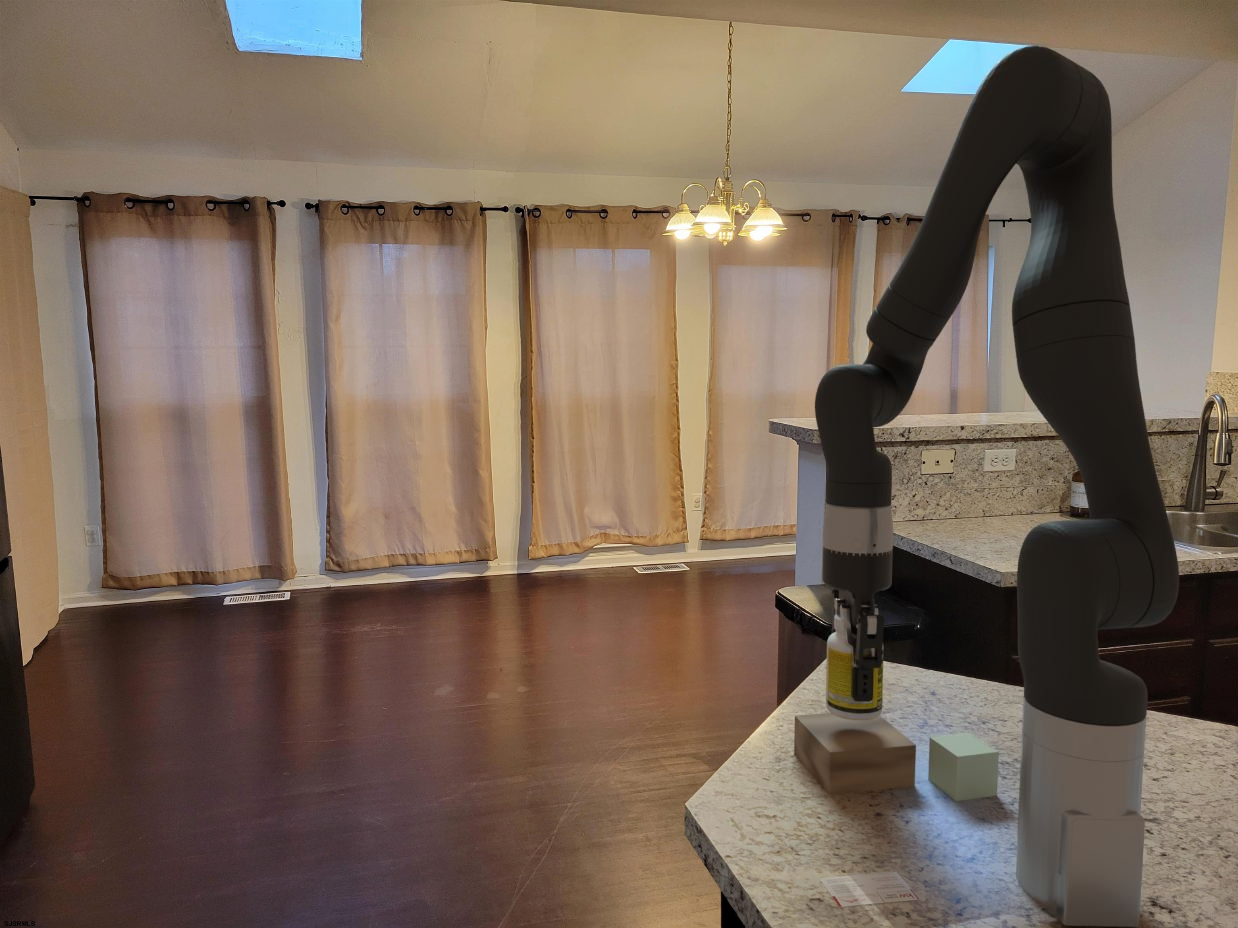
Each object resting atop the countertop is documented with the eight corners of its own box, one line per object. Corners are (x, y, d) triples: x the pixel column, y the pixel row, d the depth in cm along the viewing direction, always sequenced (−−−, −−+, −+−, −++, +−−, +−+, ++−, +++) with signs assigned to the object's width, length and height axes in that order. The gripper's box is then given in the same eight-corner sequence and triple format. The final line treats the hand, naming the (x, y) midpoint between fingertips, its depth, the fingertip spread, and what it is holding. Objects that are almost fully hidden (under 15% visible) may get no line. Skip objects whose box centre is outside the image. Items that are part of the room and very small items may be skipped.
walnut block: (914, 788, 91) (916, 744, 91) (829, 796, 89) (830, 752, 89) (871, 749, 101) (872, 709, 100) (794, 755, 99) (794, 715, 99)
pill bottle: (889, 722, 91) (891, 624, 90) (833, 722, 91) (834, 624, 90) (873, 701, 97) (875, 609, 96) (820, 700, 97) (822, 609, 96)
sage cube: (997, 796, 89) (998, 751, 88) (956, 801, 88) (957, 756, 87) (967, 774, 94) (969, 732, 93) (928, 779, 93) (929, 736, 92)
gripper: (911, 557, 85) (907, 714, 87) (873, 532, 99) (870, 667, 101) (838, 557, 85) (835, 713, 87) (811, 532, 100) (808, 667, 101)
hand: (854, 688), depth 94 cm, fingers closed on pill bottle, 6 cm apart
